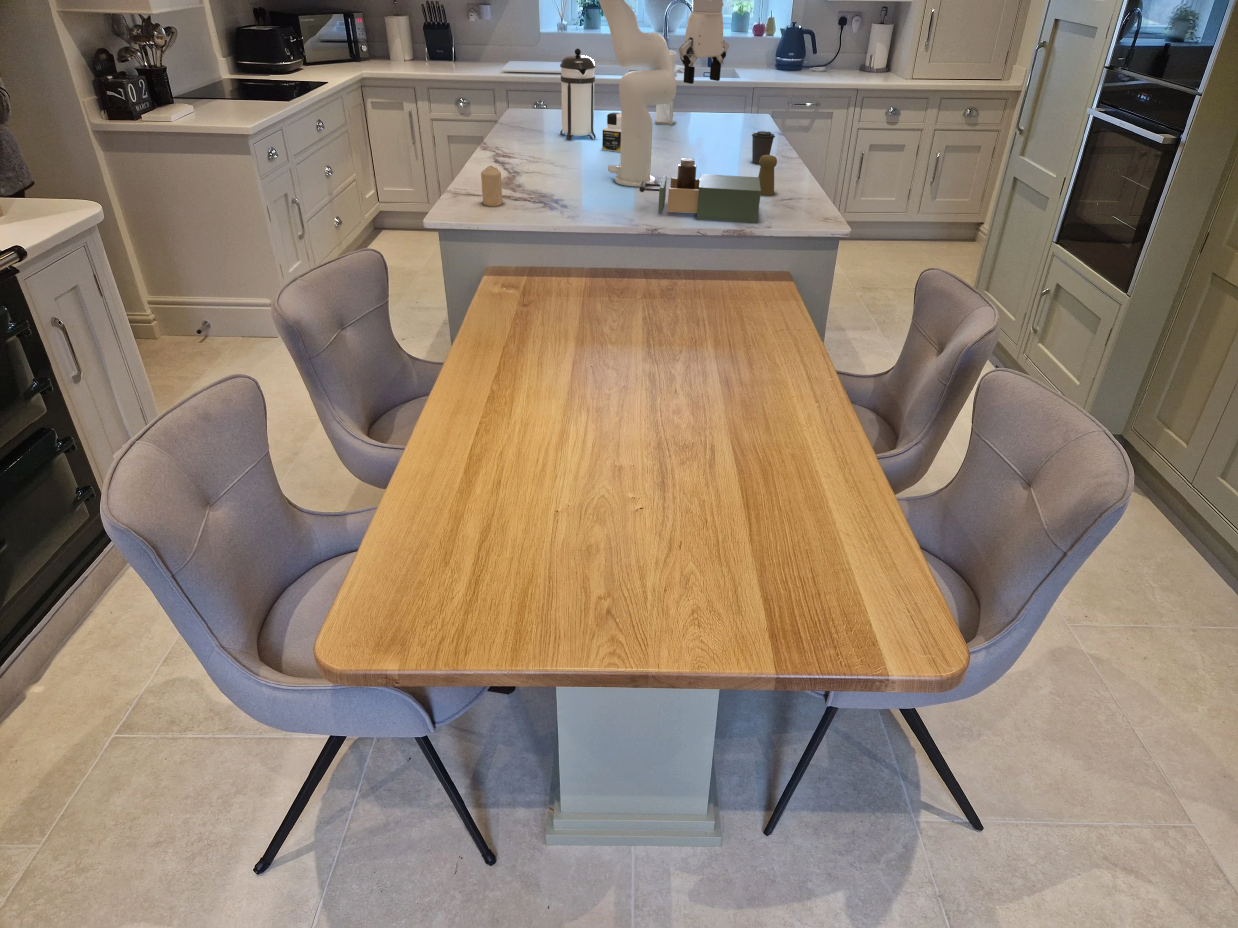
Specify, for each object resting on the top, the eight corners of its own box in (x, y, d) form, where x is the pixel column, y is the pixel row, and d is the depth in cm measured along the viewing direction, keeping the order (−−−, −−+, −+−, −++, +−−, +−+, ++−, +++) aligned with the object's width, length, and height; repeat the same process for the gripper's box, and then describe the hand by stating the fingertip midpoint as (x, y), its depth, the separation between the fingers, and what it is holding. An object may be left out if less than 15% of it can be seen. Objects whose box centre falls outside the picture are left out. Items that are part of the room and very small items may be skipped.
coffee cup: (776, 163, 280) (780, 132, 274) (763, 167, 275) (766, 135, 269) (757, 159, 284) (760, 128, 279) (743, 162, 279) (746, 131, 274)
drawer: (637, 211, 224) (638, 186, 220) (641, 198, 235) (642, 174, 231) (714, 216, 222) (716, 191, 219) (714, 203, 233) (716, 178, 230)
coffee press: (606, 136, 309) (608, 48, 292) (582, 143, 297) (583, 52, 281) (569, 130, 316) (569, 44, 300) (545, 136, 305) (543, 48, 288)
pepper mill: (675, 205, 226) (678, 161, 219) (676, 200, 230) (679, 157, 224) (693, 206, 226) (696, 162, 219) (693, 202, 230) (697, 158, 223)
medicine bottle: (601, 150, 289) (602, 114, 282) (609, 146, 295) (610, 111, 288) (620, 152, 287) (621, 116, 280) (627, 148, 292) (629, 113, 286)
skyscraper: (652, 123, 331) (655, 47, 315) (654, 120, 338) (658, 45, 322) (672, 125, 330) (677, 48, 314) (674, 121, 337) (679, 46, 321)
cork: (773, 196, 244) (778, 158, 238) (753, 195, 245) (758, 157, 239) (774, 191, 249) (779, 154, 243) (754, 189, 250) (759, 152, 244)
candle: (483, 200, 232) (481, 164, 226) (502, 201, 232) (501, 164, 227) (482, 206, 227) (480, 169, 222) (502, 206, 228) (500, 169, 222)
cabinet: (696, 219, 223) (699, 187, 218) (697, 204, 235) (700, 174, 230) (757, 223, 221) (760, 191, 217) (755, 208, 234) (759, 177, 229)
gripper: (720, 5, 210) (714, 77, 220) (671, 7, 201) (668, 82, 210) (741, 7, 206) (734, 81, 215) (693, 9, 196) (688, 86, 206)
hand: (701, 81), depth 213 cm, fingers open, 9 cm apart
